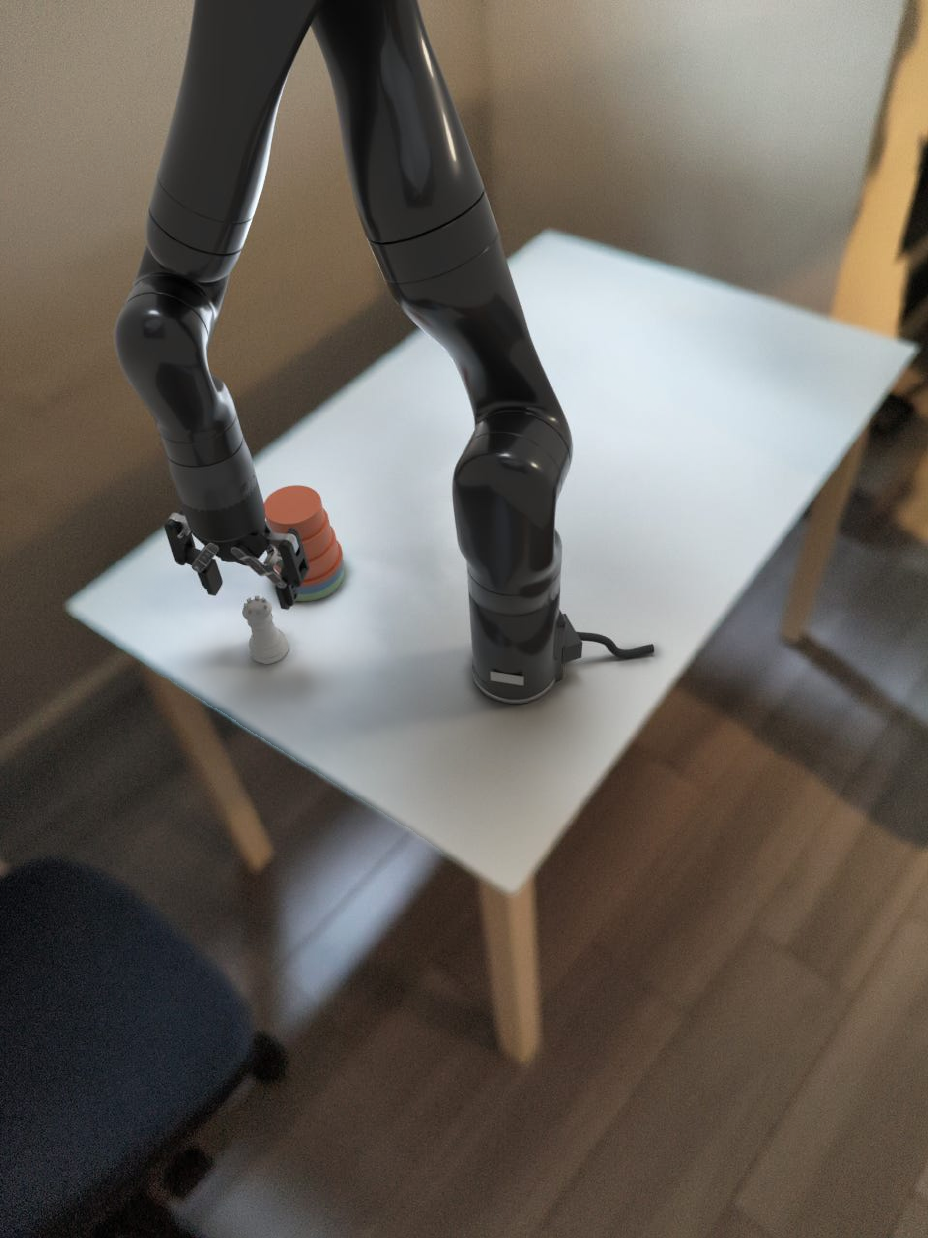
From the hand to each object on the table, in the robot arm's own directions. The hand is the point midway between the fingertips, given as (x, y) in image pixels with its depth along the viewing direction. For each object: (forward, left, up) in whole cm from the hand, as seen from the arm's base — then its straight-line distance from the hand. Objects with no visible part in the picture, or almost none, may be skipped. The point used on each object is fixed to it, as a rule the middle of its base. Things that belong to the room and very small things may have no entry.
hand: (251, 596), depth 99 cm
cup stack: (-7, -10, -9) cm, 15 cm away
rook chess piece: (0, 0, -9) cm, 9 cm away
